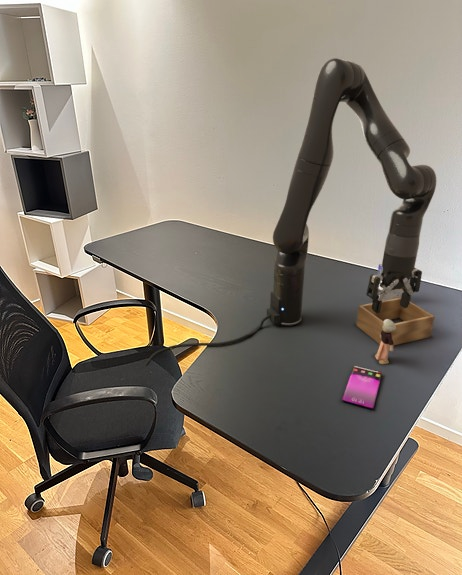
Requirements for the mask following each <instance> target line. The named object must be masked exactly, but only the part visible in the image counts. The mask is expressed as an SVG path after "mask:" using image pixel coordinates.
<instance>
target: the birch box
mask: <svg viewBox="0 0 462 575" xmlns="http://www.w3.org/2000/svg"><path fill="white" fill-rule="evenodd" d="M400 301H401V298H396V299H391V300H386V301H382V305H381V310H380V313H375V312H374V311H373V310H372V302H371V303H366V304H361V305H358V308H357V309H358V310H357V316H356V323H355V324H356V325H355V326H356V327H358V328H359V329H360V330H361V331H363V332H364V333H365V334H366V335H368V336H369V337H370V338H371V339H372V340H374V341H375V342H376V343H377V344H378V345H380V343H381V338H380V334H381V332H382V330H383V328H382V327H383V325H384V323H383V322H384V320H386V319H389V320H391V321H392V320H395V319H400V320H401V321H400V322H396V323H395V322H394V324H395V326H396V329H395V330H392V331H391V335H392V339H393V343H394V345H393V347H394V346H397V345H401V344H406V343H410V342H414V341H418V340H423V339H427V338H431V336H432V335H431V334H432V331H433V326H434V321H435V315H433V314H432V313H429V312H428V311H426V310H425V309H423V308H422V307H420V306H418V305H417V304H415V303H413V302H412V301H410V303H409V305H408V307H407V308H403V307H402V306H401V305H400Z"/></svg>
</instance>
